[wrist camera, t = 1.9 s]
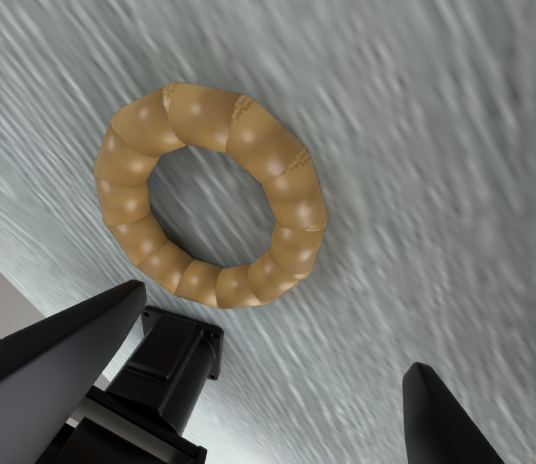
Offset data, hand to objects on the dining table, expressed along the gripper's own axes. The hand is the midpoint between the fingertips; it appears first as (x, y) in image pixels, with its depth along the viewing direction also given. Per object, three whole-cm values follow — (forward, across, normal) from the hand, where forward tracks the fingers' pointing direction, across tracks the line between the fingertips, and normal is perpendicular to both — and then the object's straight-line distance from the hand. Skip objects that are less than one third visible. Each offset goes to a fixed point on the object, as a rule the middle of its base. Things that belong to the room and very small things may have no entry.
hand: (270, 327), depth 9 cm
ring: (+6, +5, 0) cm, 7 cm away
